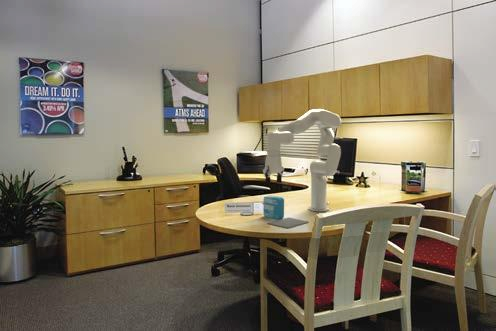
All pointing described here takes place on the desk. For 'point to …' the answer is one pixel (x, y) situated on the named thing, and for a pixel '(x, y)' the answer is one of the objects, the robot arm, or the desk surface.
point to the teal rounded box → (273, 207)
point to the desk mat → (288, 222)
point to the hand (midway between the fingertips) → (273, 183)
